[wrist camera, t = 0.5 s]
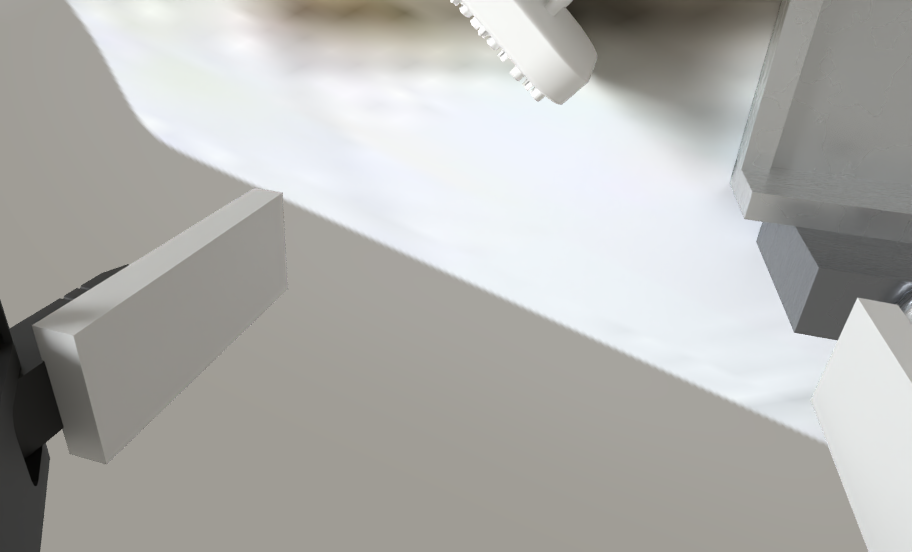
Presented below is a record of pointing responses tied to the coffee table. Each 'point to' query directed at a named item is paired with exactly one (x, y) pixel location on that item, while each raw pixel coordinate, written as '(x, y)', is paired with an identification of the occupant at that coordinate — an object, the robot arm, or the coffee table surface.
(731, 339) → the coffee table surface
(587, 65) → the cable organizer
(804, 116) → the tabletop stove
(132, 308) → the robot arm
